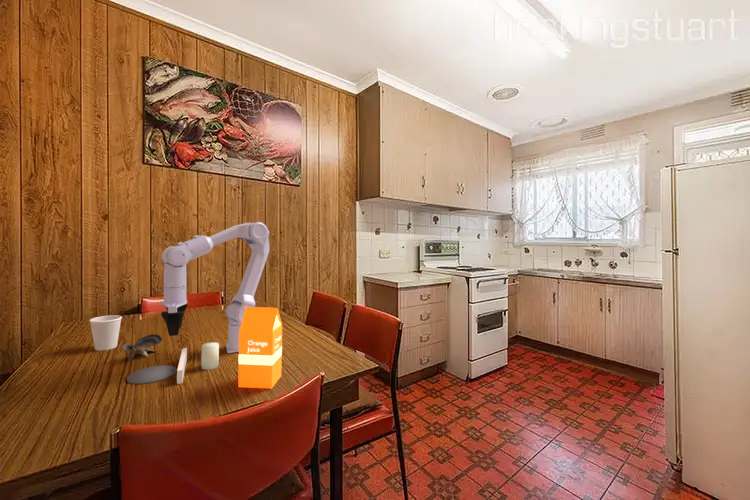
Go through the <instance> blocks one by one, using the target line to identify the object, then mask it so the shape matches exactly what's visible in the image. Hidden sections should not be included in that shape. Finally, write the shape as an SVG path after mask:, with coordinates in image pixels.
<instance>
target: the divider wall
mask: <svg viewBox="0 0 750 500" xmlns="http://www.w3.org/2000/svg"><path fill="white" fill-rule="evenodd" d="M187 360H188V347H185V348H181V353H180V357H179V362H178V366H177V368H176V384H177V385H179V384H181V385H182V384H183V383H184V377H185V371H186V366H187Z"/></svg>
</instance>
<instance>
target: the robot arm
mask: <svg viewBox="0 0 750 500" xmlns="http://www.w3.org/2000/svg"><path fill="white" fill-rule="evenodd" d="M269 236H270V231H269V229H268V227H267V225H266V224H265V223H263V222H261V221H257V222H256V221H255V222H243V223H241V224H237V225H233V226H231V227H229V228H227V229H223V230H221V231H219V232H218V233H214V234H212V235H210V236H205V235H204V234H202V235H198V234H196V235H194V236H193V238H191V239H189V240H186V241H184V242H182V241H179V242H177V245H176V246H172V245H171V246H168V247H166V248H165V249H164V250H163V252H162V254H161V255H160V259H161V261H162V263H163V265H164V266H163V269H164V271H163V300H162V301H159V302H158V306H164V307H165V308H166V311H161V313H160V314H161V317H162V319H164V322H165V325H166V329H167V333H168V336H169V337H174V336H175V337H176V336H178V335H179V332H180V329H181V328H182V324H183V319H184V314H185V313H186V309H187V308H188V300H187V294H188V292H187V289H188V287H187V275H188V274H187V265H188V263H189V262H190V261H192V260H194V259H197V258H199V257H201V256H204V255H206V254H209V253H211V252H212V250H213V248H214V246H218V245H220V244H223V243H225V242H228V241H230V240H234V239H237V238H241V239H242V240H243V241H245V242H246V243H247V245H249V247H250V249H251V255H250V257H249V259H248V264H247V265H246V268H245V272H244V274H243V278H242V280H241V283H240V286H239V289H238V291H237V293H236V294H235V295H234V296H233V297H232V300H231V301H230V303H229V304H227V307H226V308H225V316H226V317H227V318H228V321H227V322H228V328H227V329H228V334H227V336H228V337H227V344H226V345H225V346H226V348H225V349H226V353H227V354H232V353H233V354H234V353H239V330H240V327H241V323H242V320H243V316H244V313H245V309H246V307H256V301H255V298H254V297H255V294H256V291H257V288H258V285H259V282H260V280H261V277H262V274H263V271H264V268H265V265H266V262H267V258H268V255H269V253H270V240H269V239H270V238H269Z"/></svg>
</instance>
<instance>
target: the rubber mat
mask: <svg viewBox="0 0 750 500" xmlns="http://www.w3.org/2000/svg"><path fill="white" fill-rule="evenodd" d="M175 374H177V368H176V367H175V366H173V365H167V364H166V365H163V364H162V365H154V366H148V367H143V368H140V369H138V370H136V371H135V370H134V372H133V371H132V373H131V372H130V374H128V376H127V377H126V381H127V383H129V384H133V385H146V384H153V383H157V382H161V381H163V380H167V379H168V378H171V377H172V376H174V375H175Z"/></svg>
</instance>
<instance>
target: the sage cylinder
mask: <svg viewBox="0 0 750 500" xmlns="http://www.w3.org/2000/svg"><path fill="white" fill-rule="evenodd" d="M219 354H220V343H219V342H206V343H203V344H202V345H201V370H204V371H206V370H209V371H210V370H215V369H216V368H218V367H219V366H220V365H219V363H220V361H219V359H220V358H219V357H220V356H219Z"/></svg>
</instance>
